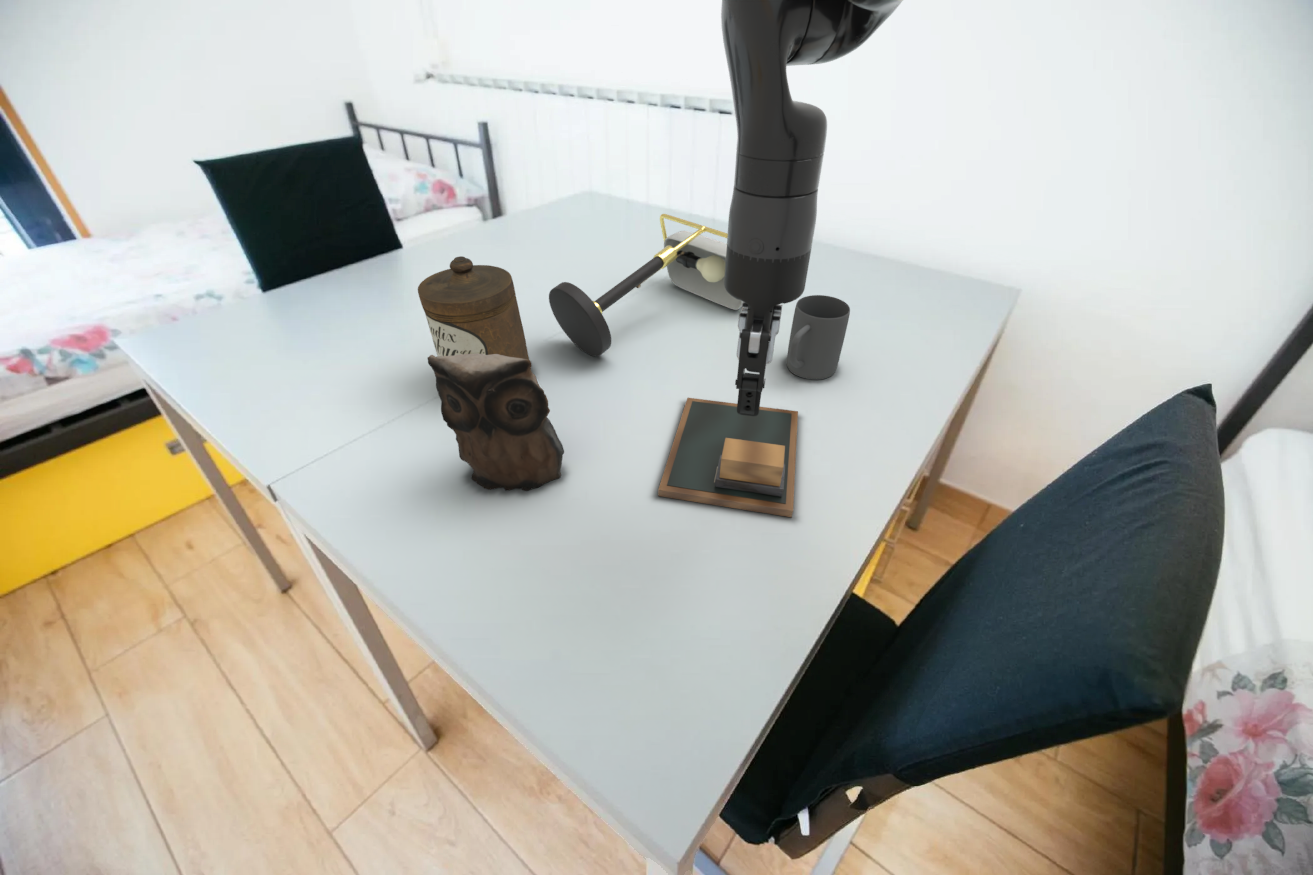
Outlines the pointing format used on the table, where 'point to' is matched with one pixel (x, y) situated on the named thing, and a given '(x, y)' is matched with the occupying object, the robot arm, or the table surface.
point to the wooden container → (473, 311)
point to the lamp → (688, 266)
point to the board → (703, 446)
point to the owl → (498, 419)
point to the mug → (817, 336)
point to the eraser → (751, 467)
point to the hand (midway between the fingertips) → (751, 390)
